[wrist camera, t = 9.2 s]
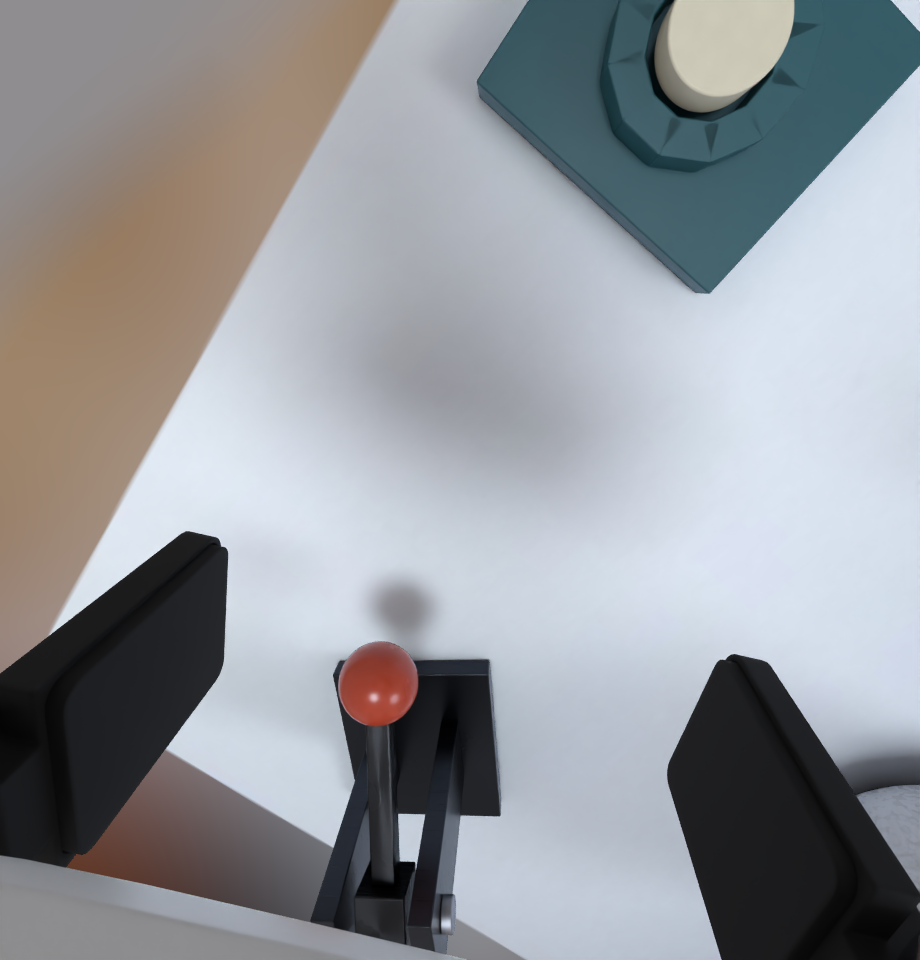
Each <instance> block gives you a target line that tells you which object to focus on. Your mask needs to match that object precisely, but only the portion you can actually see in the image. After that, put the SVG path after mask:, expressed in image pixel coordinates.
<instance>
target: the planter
mask: <svg viewBox="0 0 920 960" xmlns="http://www.w3.org/2000/svg"><path fill="white" fill-rule="evenodd" d="M856 796H857V798H858V799H859V801H860V803H861V804H862V806H863V807H864V809H865V810H866V812H867V813H868V815H869V816H870V818H871V819H872V821H873V822H874V824H875V825H876V827H877V828H878V830H879V831H880V833H881V834H882V836H883V837H884V839H885V840H886V842H887V844H888V845H889V847H890V848H891V850H892V851H893V853H894V854H895V856H896V857H897V859H898V860H899V862H900V863H901V865H902V866H903V868H904V869H905V871H906V872H907V874H908V875H909V877H910V878H911V880H912V881H913V883H914V885H915V886H916V888H917V889H918V891H919V892H920V785H902V786H892V787H886V788H880V789H876V790H872V791H868V792H864V793H861V794H858V795H856ZM917 908H918V910H919V911H920V903H919V904H918V905H917Z"/></svg>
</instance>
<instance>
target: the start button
mask: <svg viewBox="0 0 920 960" xmlns="http://www.w3.org/2000/svg"><path fill="white" fill-rule="evenodd" d="M793 19H794V0H674V2H673V4H672V5H671V7H670V9H669V11H668V13H667V14H666V16H665V18H664V20H663V22H662V24H661V27H660V29H659V32H658V36H657V39H656V45H655V53H654V62H655V70H656V75H657V79H658V82H659V84H660V86H661V88H662V90H663V91H664V93H665V94H666V96H667V97H668V98H669V99H670V100H671V101H672V102H673V103H674V104H676V105H677V106H679V107H681V108H683V109H685V110H688V111H692V112H702V113H703V112H711V111H715V110H718V109H721V108H724V107H726V106H728V105H729V104H731V103H733V102H734V101H736V100H737V99H738V98H740V97H741V96H742V95H743V94H745V93H746V92H747V91H748V90H749V89H751V88H752V87H753V86H754V85H755V84H757V83H758V82H759V81H760V80H761V79H762V78H764V77H765V76H766V75H767V74H768V72H769V71H770V70H771V69H772V68H773V67H774V65H775V64H776V63H777V61H778V60H779V58H780V56H781V55H782V53H783V51H784V49H785V47H786V45H787V42H788V39H789V37H790V34H791V30H792V25H793Z"/></svg>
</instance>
